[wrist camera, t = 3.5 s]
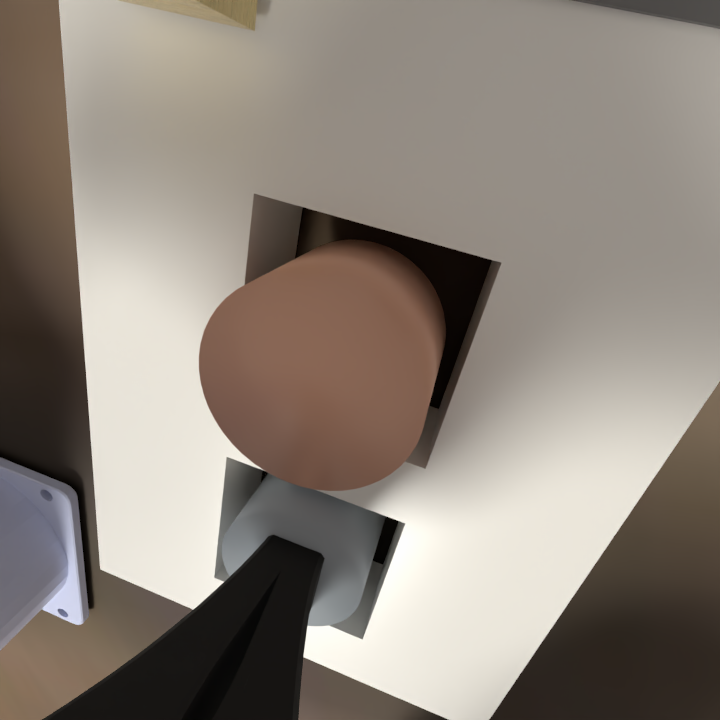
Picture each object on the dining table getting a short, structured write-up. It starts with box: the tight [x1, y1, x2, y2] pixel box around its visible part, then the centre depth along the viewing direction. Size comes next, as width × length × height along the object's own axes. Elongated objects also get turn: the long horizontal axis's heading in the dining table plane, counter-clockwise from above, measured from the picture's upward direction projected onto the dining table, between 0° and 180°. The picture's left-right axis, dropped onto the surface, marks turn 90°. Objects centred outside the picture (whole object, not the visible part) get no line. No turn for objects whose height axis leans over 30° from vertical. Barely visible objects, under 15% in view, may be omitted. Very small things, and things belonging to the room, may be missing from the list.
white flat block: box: [59, 0, 720, 720], centre depth 10 cm, size 12×20×3 cm, turn 167°
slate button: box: [222, 473, 386, 626], centre depth 12 cm, size 4×4×3 cm
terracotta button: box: [199, 239, 446, 491], centre depth 8 cm, size 4×4×3 cm
